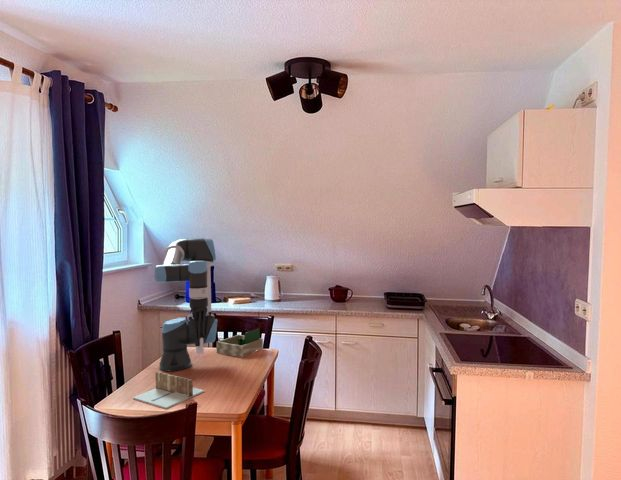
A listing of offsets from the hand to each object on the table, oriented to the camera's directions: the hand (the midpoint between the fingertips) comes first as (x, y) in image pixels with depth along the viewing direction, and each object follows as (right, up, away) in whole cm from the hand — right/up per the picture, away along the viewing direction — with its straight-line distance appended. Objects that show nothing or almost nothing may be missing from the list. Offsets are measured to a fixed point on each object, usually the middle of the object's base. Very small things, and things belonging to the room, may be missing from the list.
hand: (199, 353), depth 186 cm
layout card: (-12, -17, -3) cm, 21 cm away
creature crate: (+8, -14, +59) cm, 61 cm away
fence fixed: (-15, -16, +1) cm, 22 cm away
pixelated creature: (+10, -14, +59) cm, 62 cm away
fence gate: (-5, -15, -5) cm, 17 cm away
